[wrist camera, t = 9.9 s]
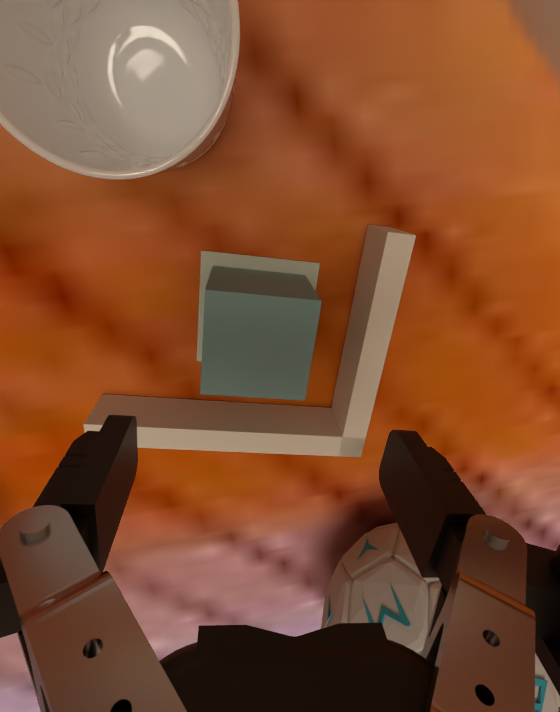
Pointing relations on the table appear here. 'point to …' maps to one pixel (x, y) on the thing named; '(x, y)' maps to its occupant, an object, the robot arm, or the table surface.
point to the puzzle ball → (397, 598)
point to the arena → (287, 422)
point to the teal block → (258, 333)
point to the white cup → (118, 81)
